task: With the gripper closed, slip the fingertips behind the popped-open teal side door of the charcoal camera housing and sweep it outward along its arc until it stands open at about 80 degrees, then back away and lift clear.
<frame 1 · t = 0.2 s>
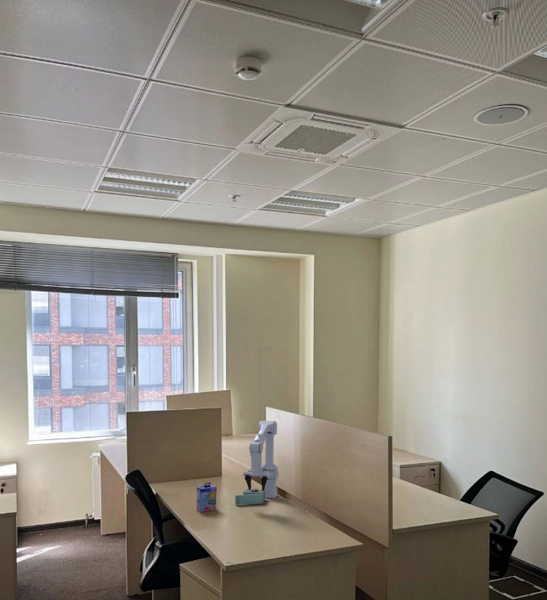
hand: (256, 490, 317), 10 cm above the table, tool pointing down, fingers open, 7 cm apart
housing: (254, 501, 333), on the table
ink cartridge box: (206, 510, 316), on the table
door: (249, 499, 326), point 3 cm above the table, hinge at 20.0°
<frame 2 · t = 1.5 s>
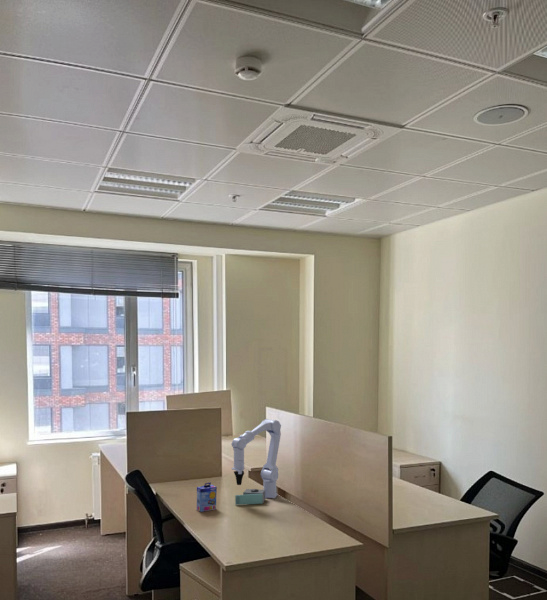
hand: (239, 484, 328), 10 cm above the table, tool pointing down, fingers closed
nothing on the table moved.
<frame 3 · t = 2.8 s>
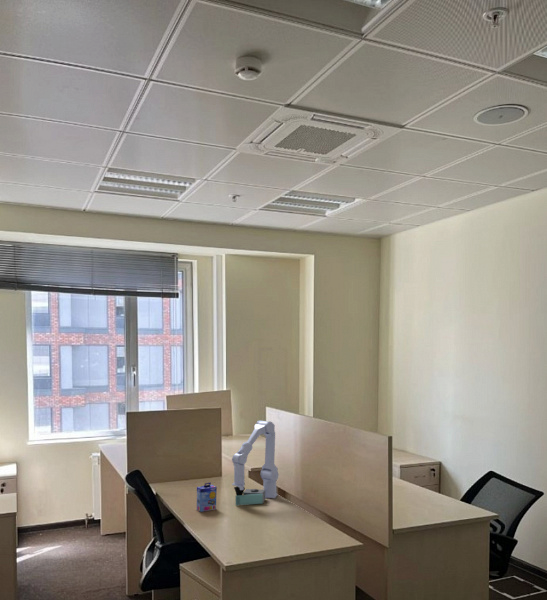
hand: (239, 500, 326), 2 cm above the table, tool pointing down, fingers closed
door: (249, 499, 325), point 3 cm above the table, hinge at 23.4°, touching gripper
everything else where it was.
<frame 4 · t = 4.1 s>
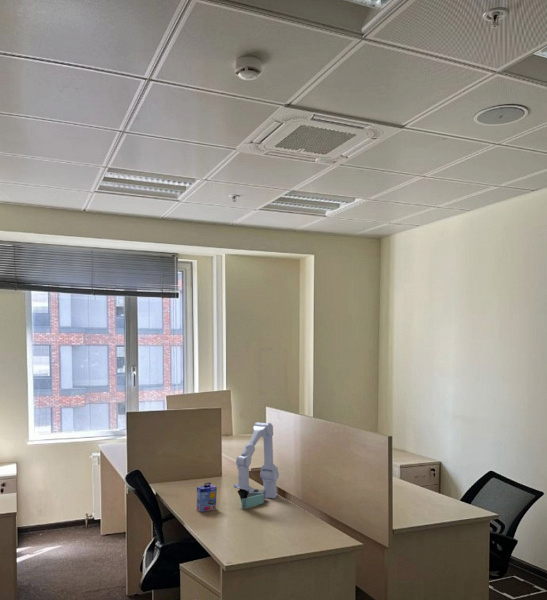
hand: (243, 503, 320), 2 cm above the table, tool pointing down, fingers closed
door: (253, 501, 322), point 3 cm above the table, hinge at 54.5°, touching gripper
everything else where it was.
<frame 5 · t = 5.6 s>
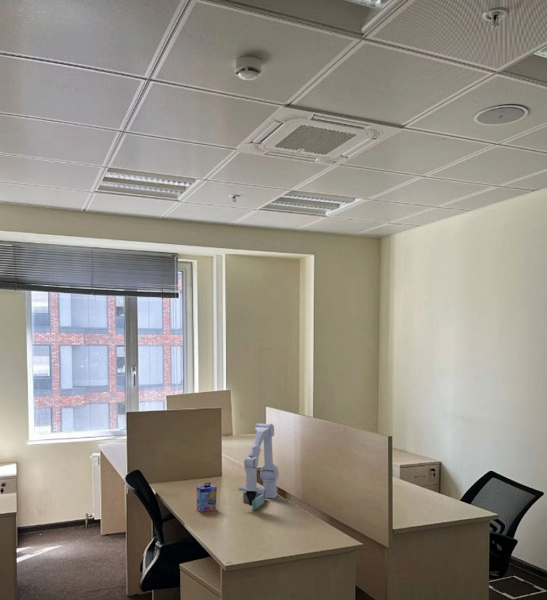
hand: (251, 505, 316), 2 cm above the table, tool pointing down, fingers closed
door: (258, 502, 320), point 3 cm above the table, hinge at 80.9°, touching gripper
everything else where it was.
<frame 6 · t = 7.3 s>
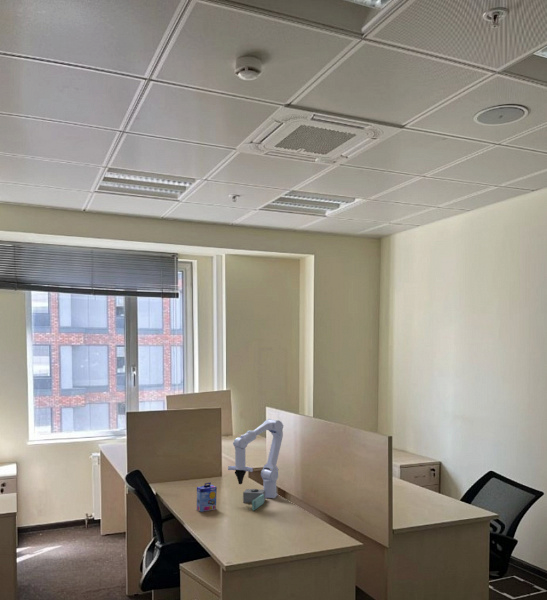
hand: (240, 483, 330), 10 cm above the table, tool pointing down, fingers closed
door: (258, 502, 320), point 3 cm above the table, hinge at 81.0°
everything else where it was.
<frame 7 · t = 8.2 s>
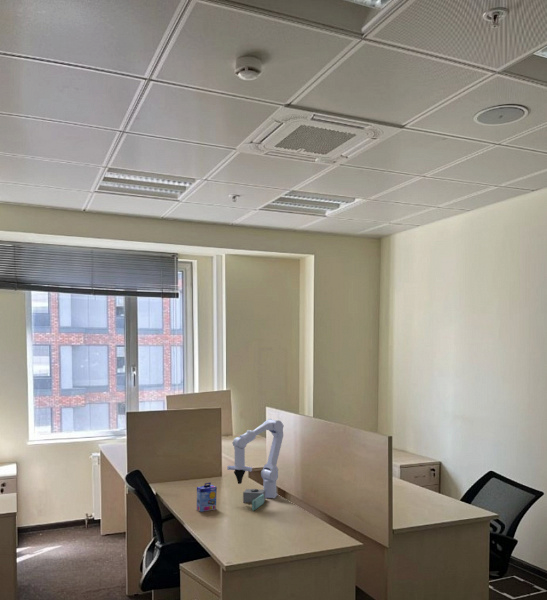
hand: (239, 483, 331), 10 cm above the table, tool pointing down, fingers closed
nothing on the table moved.
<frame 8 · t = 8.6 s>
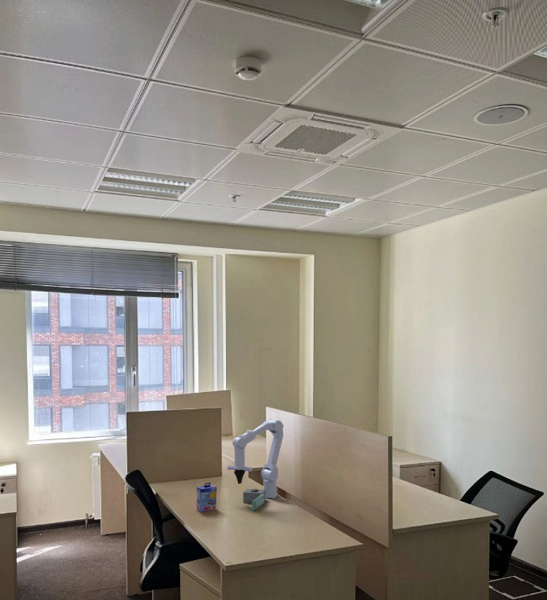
hand: (239, 483, 331), 10 cm above the table, tool pointing down, fingers closed
nothing on the table moved.
at the end: door at +81° (first picture: +20°); ink cartridge box moved 0.3 cm from its start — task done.
